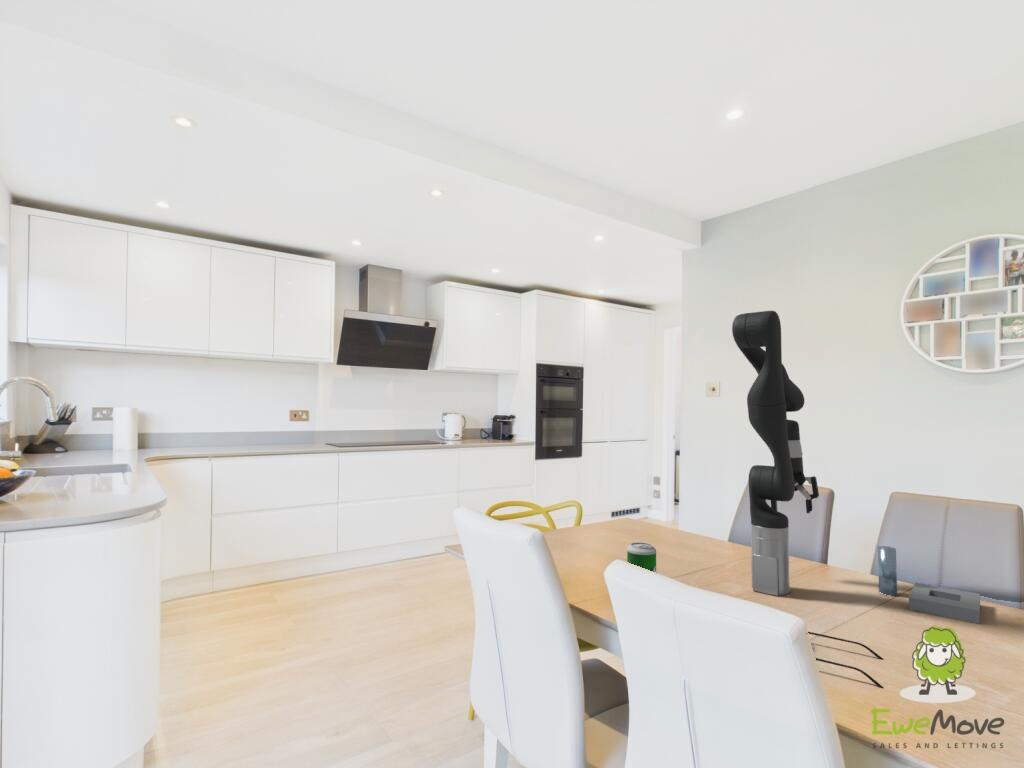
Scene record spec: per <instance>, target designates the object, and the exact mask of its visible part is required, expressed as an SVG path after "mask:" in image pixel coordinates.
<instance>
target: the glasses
mask: <svg viewBox="0 0 1024 768" xmlns="http://www.w3.org/2000/svg"><path fill="white" fill-rule="evenodd" d="M808 633H809V634H808ZM808 633H807V634H808V635H814V636H817V637H822V638H827V639H832V640H835V641H842V642H846V643H850V644H855V645H858V646H861V647H863V648H864V649H866V650H867V651H868V652H870V653H871V654H872V655H874V656H875V657H876V658H878V659H879V660H881V661H884V660H885V659H884V658H883V657H882V656H881V655H879V654H878V653H876V652H875V651H874V650H873V649H871V647H868V646H867V645H865V644H863V643H861V642H857V641H853V640H849V639H844V638H841V637H835V636H830V635H826V634H821V633H817V632H812V631H808ZM815 658H816V660H815V661H818V662H822V663H827V664H831V665H834V666H838V667H839V666H840V667H843V668H847V669H852V670H855V671H858V672H860V673H861V674H863V675H864V676H865V677H866V678H867V679H869V680H870V681H871V682H872V683H873V684H874V685H875V686H877V687H878V688H880V689H884V686H883V685H881V683H880V682H878V681H877V680H876V679H874V678H873V677H872V676H870V674H868V673H867V672H865V671H864V670H861V668H859V667H858V668H857V667H855V666H852V665H847V664H843V663H842V664H841V663H839V662H834V661H830V660H827V659H822V658H818V657H815Z"/></svg>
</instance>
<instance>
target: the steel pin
mask: <svg viewBox="0 0 1024 768" xmlns="http://www.w3.org/2000/svg"><path fill="white" fill-rule="evenodd" d="M877 561H878V562H877V564H878V565H877V566H878V567H877V568H878V593H879V592H881V593H883V594H886V595H885V596H887V595H891V596H890V597H897V596H898V576H897V575H898V572H897V570H898V569H897V548H894V547H891V546H885V545H882V546H881V545H880V546H879V545H878V546H877ZM883 594H882V595H883ZM893 595H894V596H893ZM896 595H897V596H896Z"/></svg>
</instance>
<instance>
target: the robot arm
mask: <svg viewBox="0 0 1024 768" xmlns="http://www.w3.org/2000/svg"><path fill="white" fill-rule="evenodd" d="M731 333H732V337H733V338H732V339H733V340H734V342H735V344H736V346H737V347H738V349H739V350H740V352H741V353H742V354H743V356H744V357H745V358H746V359H747V361H748V362H749V363H750V365H751V366H752V367H753V368H754V370H755V372H756V373H757V376H756V378H755V380H754V382H753V383H752V385H751V387H750V388H749V391H748V392H747V396H746V405H747V414H748V420H749V421H748V422H749V423H750V425H751V427H752V428H753V429H754V431H755V432H756V434H757V435H758V436H759V437H760V439H761V440H762V441H763V442H764V443H765V444H766V446H767V448H768V449H769V451H770V452H771V455H772V457H773V465H762V464H756V465H752V466H751V467H750V470H749V473H748V494H749V496H748V497H749V514H750V529H751V530H750V532H751V533H750V534H751V535H750V536H751V537H750V540H751V541H750V543H751V544H750V547H751V548H750V550H751V551H750V552H751V558H750V559H751V588H752V591H753V592H754V591H755V592H758V593H762V594H766V595H767V594H768V595H772V596H777V597H778V596H782V595H783V596H785V595H788V594H790V590H791V589H790V588H791V587H790V548H789V547H790V545H789V544H790V542H789V541H790V538H789V534H790V533H789V531H790V530H789V529H790V528H789V527H790V526H789V517H788V516H787V515H786V514H784V513H782V512H780V511H779V510H778V502H790V501H792V500H793V499H794V496H795V492H797V491H799V493H801V494H802V495H803V497H804V498H805V509H806V510H805V511H806V514H810V513H811V512H812V511H813V499H818V498H819V497H820V494H819V487H818V480H817V476H815V475H813V476H805V474H804V461H803V449H802V444H801V436H800V424H799V422H798V421H796V420H792V419H788V415H787V413H788V412H789V413H792V412H798V411H800V410H802V409H803V407H804V405H805V397H804V393H803V391H802V390H801V389H800V388H799V386H797V385H796V384H795V383H794V382H793V381H792V379H790V377H789V374H788V372H787V370H786V368H785V366H784V363H783V362H782V359H783V358H782V355H783V354H782V325H781V320H780V316H779V313H778V312H777V311H775V310H763V311H756V312H746V313H740V314H738V315H736V316H735V317H734V318H733V321H732V326H731ZM763 348H765V349H763ZM806 481H807V483H808V484H809V485H811V490H812V493H809V491H807V489H806V488H805V486H804V485H805V483H806ZM767 501H770V505H769V504H768V502H767Z"/></svg>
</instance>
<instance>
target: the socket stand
mask: <svg viewBox="0 0 1024 768" xmlns="http://www.w3.org/2000/svg"><path fill="white" fill-rule="evenodd" d="M908 610H909V611H914V612H918V613H919V612H920V613H923V614H928V615H933V616H939V617H943V618H948V619H954V620H960V621H964V622H969V623H972V624H978V625H979V624H980V622H981V621H980V620H981V594H980V593H978V592H974V591H973V592H972V591H967V590H966V591H965V590H961V589H960V590H959V589H957V588H956V589H954V588H950V587H949V588H948V587H944V586H936V585H931V584H927V583H920V582H915V583H914V584H913V587H912V589H911V591H910V593H909V595H908Z"/></svg>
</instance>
